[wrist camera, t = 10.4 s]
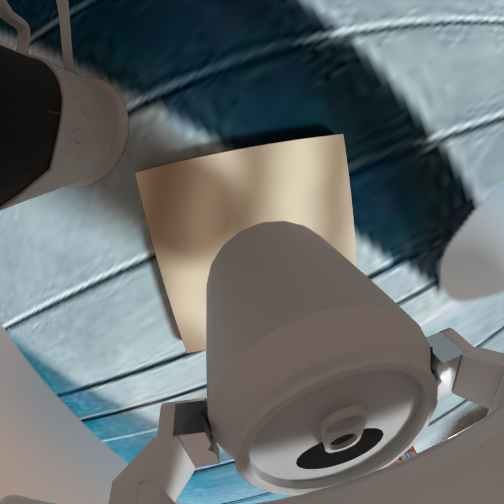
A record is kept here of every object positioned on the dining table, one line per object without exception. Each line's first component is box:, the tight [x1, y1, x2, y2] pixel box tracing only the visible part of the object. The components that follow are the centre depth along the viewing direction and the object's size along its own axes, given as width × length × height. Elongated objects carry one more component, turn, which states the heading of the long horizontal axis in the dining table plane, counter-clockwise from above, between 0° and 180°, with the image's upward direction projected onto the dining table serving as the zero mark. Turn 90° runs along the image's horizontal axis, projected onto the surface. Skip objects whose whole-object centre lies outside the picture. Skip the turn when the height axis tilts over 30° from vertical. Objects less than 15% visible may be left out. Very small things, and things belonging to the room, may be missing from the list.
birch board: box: [135, 134, 357, 353], centre depth 25 cm, size 15×15×2 cm
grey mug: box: [0, 0, 129, 210], centre depth 13 cm, size 9×14×15 cm, turn 171°
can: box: [206, 221, 438, 496], centre depth 13 cm, size 8×8×12 cm
